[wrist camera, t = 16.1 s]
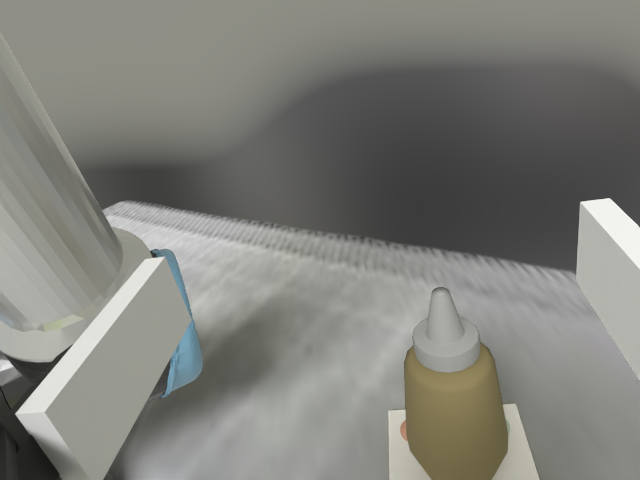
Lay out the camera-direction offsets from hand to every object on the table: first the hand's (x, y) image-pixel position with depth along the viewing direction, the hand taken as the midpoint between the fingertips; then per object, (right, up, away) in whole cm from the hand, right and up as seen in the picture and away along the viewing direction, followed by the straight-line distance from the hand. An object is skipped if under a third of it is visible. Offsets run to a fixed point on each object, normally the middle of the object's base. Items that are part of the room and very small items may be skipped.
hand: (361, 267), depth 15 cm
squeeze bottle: (+11, -18, +25) cm, 33 cm away
